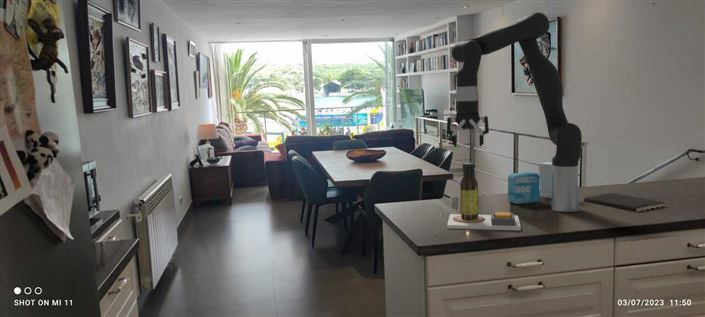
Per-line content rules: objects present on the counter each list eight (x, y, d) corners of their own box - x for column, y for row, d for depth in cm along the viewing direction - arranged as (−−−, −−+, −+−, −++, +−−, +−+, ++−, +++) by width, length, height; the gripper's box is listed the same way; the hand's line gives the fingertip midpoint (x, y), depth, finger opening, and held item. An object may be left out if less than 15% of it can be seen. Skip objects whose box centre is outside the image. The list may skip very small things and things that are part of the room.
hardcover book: (611, 198, 217) (611, 192, 216) (664, 208, 196) (664, 202, 196) (583, 202, 210) (584, 197, 210) (636, 213, 189) (636, 207, 189)
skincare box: (564, 197, 219) (564, 162, 217) (555, 199, 215) (555, 164, 213) (547, 194, 226) (547, 161, 224) (538, 196, 222) (538, 162, 220)
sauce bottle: (481, 219, 181) (481, 163, 179) (465, 221, 180) (464, 165, 177) (473, 215, 187) (473, 161, 185) (457, 217, 186) (456, 162, 183)
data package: (514, 204, 209) (514, 175, 208) (507, 202, 213) (507, 173, 212) (539, 201, 212) (539, 173, 211) (532, 199, 217) (532, 171, 215)
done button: (510, 217, 178) (510, 212, 178) (510, 221, 174) (510, 215, 173) (495, 217, 180) (495, 211, 179) (495, 220, 175) (495, 215, 175)
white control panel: (517, 218, 186) (517, 209, 186) (520, 230, 171) (520, 219, 170) (450, 217, 192) (450, 207, 192) (447, 228, 177) (447, 218, 176)
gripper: (488, 98, 180) (488, 144, 182) (447, 100, 184) (447, 145, 186) (488, 99, 173) (489, 147, 175) (445, 100, 176) (446, 147, 178)
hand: (467, 146), depth 180 cm, fingers open, 8 cm apart
